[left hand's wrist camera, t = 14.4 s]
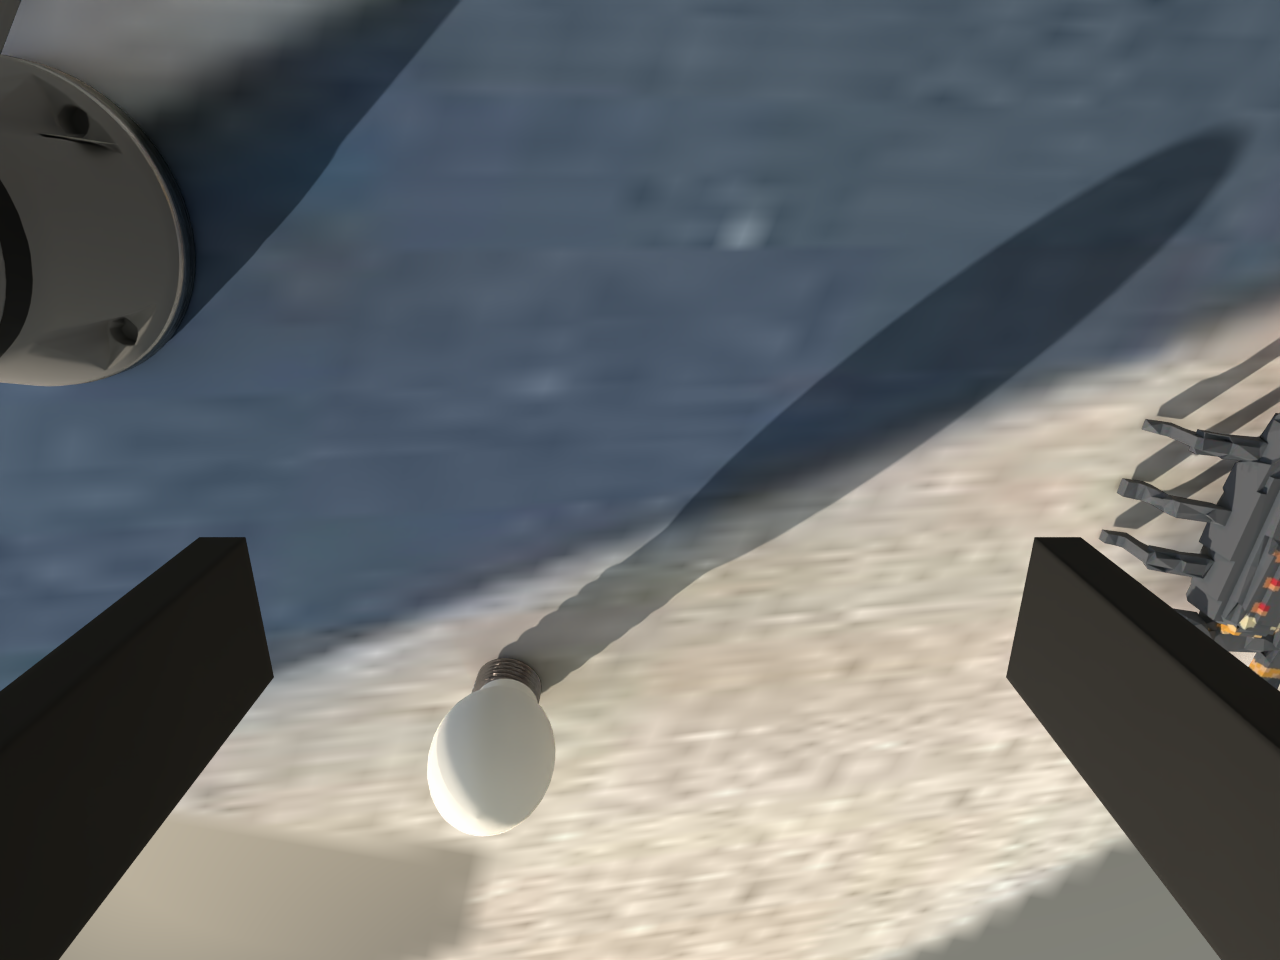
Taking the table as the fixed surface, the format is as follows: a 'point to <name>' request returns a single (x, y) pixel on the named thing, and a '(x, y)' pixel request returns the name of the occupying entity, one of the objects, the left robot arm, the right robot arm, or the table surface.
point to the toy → (1226, 543)
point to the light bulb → (493, 752)
